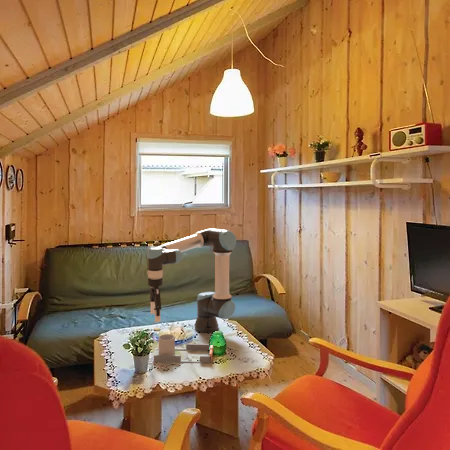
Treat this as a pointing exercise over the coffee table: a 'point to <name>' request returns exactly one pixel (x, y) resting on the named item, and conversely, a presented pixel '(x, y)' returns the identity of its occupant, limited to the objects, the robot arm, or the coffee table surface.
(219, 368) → the coffee table surface
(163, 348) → the mug
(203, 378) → the coffee table surface
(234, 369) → the coffee table surface
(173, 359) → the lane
